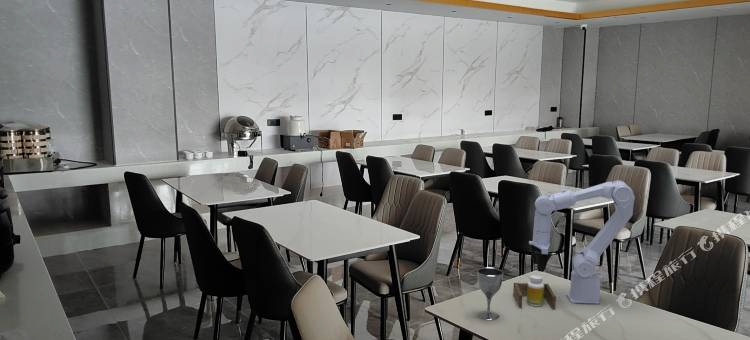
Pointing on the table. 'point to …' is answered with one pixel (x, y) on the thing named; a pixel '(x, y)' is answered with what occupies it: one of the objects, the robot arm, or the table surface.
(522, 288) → the walnut stall
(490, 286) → the wine glass
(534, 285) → the supplement bottle
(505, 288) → the table surface
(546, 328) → the table surface
